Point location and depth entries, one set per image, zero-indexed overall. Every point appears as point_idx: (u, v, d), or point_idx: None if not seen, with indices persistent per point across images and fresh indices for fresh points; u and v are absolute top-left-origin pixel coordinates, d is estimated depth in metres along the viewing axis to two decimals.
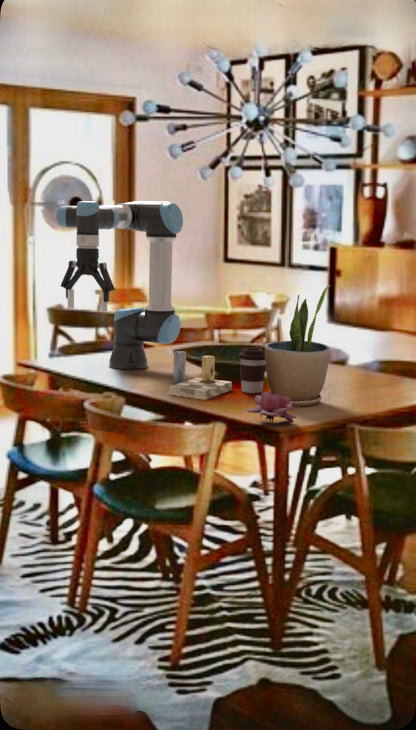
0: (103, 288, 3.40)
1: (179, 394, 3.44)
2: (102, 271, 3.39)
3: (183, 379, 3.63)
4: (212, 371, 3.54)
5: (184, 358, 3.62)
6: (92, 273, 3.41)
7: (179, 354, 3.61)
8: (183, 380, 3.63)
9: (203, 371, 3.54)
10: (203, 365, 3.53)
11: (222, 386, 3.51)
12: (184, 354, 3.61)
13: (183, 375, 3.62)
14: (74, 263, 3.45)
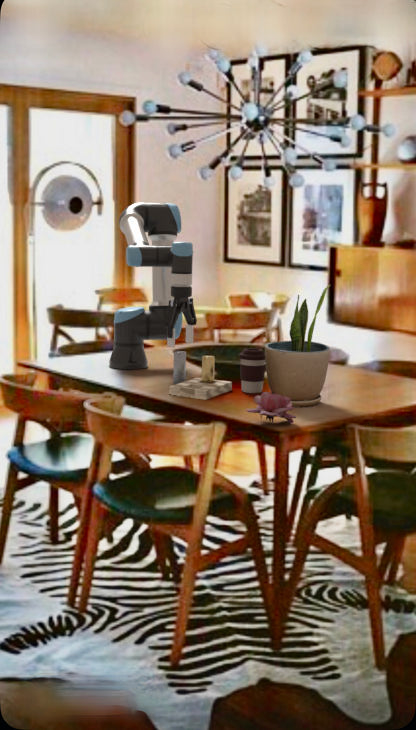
0: None
1: (179, 394, 3.44)
2: None
3: (183, 379, 3.63)
4: (212, 371, 3.54)
5: (184, 358, 3.62)
6: None
7: (179, 354, 3.61)
8: (183, 380, 3.63)
9: (203, 371, 3.54)
10: (203, 365, 3.53)
11: (222, 386, 3.51)
12: (184, 354, 3.61)
13: (183, 375, 3.62)
14: None
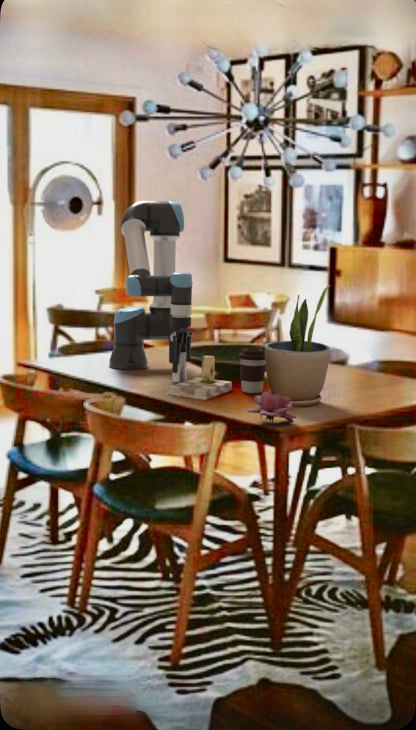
0: None
1: (179, 394, 3.44)
2: None
3: (183, 379, 3.63)
4: (212, 371, 3.54)
5: (184, 358, 3.62)
6: None
7: None
8: (183, 380, 3.63)
9: (203, 371, 3.54)
10: (203, 365, 3.53)
11: (222, 386, 3.51)
12: (184, 354, 3.61)
13: (183, 375, 3.62)
14: None
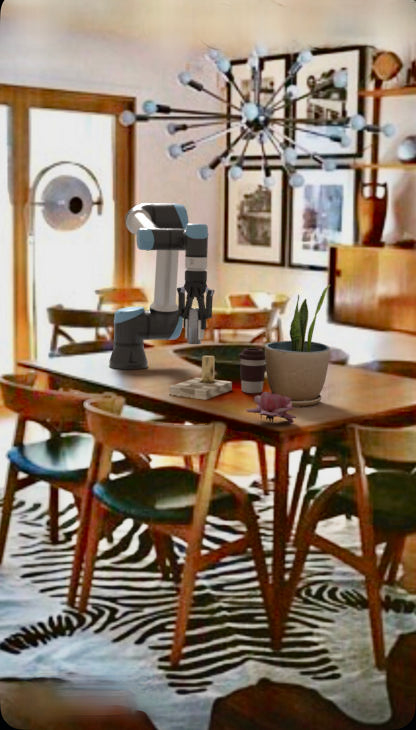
0: (202, 316, 3.41)
1: (179, 394, 3.44)
2: (207, 298, 3.39)
3: None
4: (212, 371, 3.54)
5: None
6: (198, 297, 3.40)
7: None
8: None
9: (203, 371, 3.54)
10: (203, 365, 3.53)
11: (222, 386, 3.51)
12: None
13: None
14: (182, 288, 3.44)
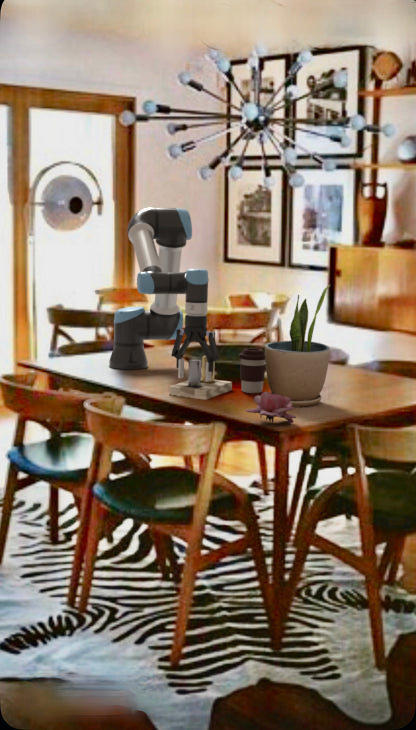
0: (208, 358, 3.41)
1: (179, 394, 3.44)
2: (210, 340, 3.40)
3: None
4: (212, 371, 3.54)
5: None
6: (200, 341, 3.41)
7: (201, 362, 3.45)
8: None
9: (203, 371, 3.54)
10: (203, 365, 3.53)
11: (222, 386, 3.51)
12: None
13: None
14: (182, 331, 3.46)
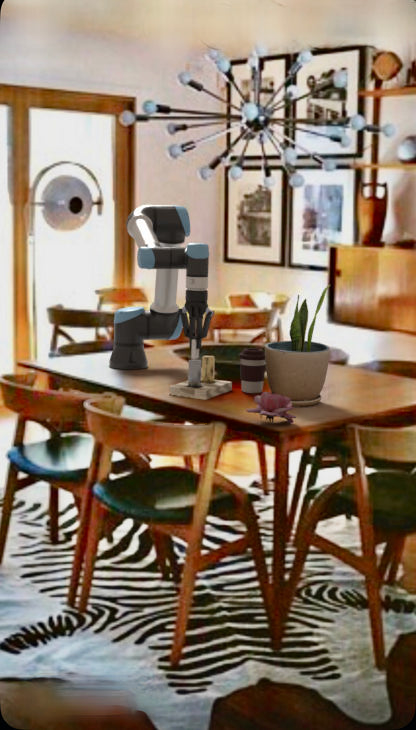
0: (197, 335, 3.42)
1: (179, 394, 3.44)
2: (206, 319, 3.40)
3: None
4: (212, 371, 3.54)
5: None
6: (197, 317, 3.41)
7: (201, 362, 3.45)
8: None
9: (203, 371, 3.54)
10: (203, 365, 3.53)
11: (222, 386, 3.51)
12: None
13: None
14: (183, 308, 3.44)
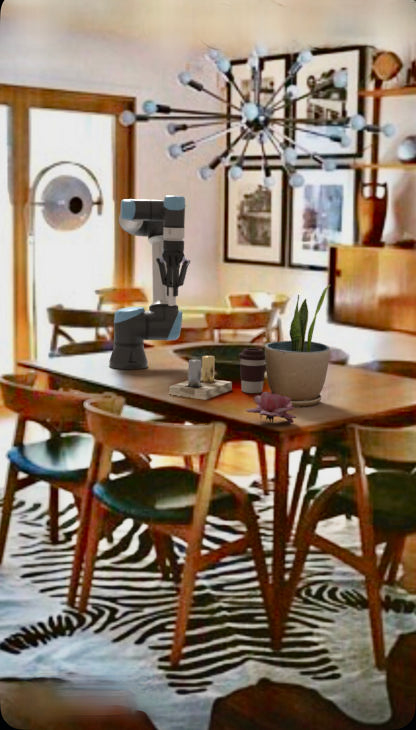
0: (174, 283, 3.61)
1: (179, 394, 3.44)
2: (183, 267, 3.59)
3: None
4: (212, 371, 3.54)
5: None
6: (174, 266, 3.59)
7: (201, 362, 3.45)
8: None
9: (203, 371, 3.54)
10: (203, 365, 3.53)
11: (222, 386, 3.51)
12: None
13: None
14: (161, 258, 3.63)
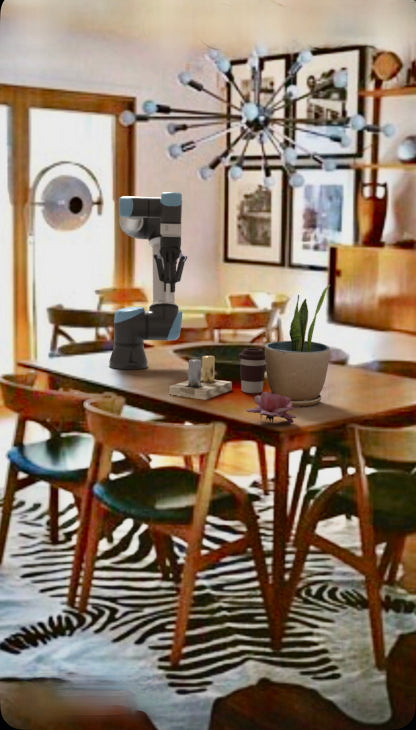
0: (171, 279, 3.63)
1: (179, 394, 3.44)
2: (180, 263, 3.61)
3: None
4: (212, 371, 3.54)
5: None
6: (171, 262, 3.62)
7: (201, 361, 3.45)
8: None
9: (203, 371, 3.54)
10: (203, 365, 3.53)
11: (222, 386, 3.51)
12: None
13: None
14: (158, 254, 3.65)
